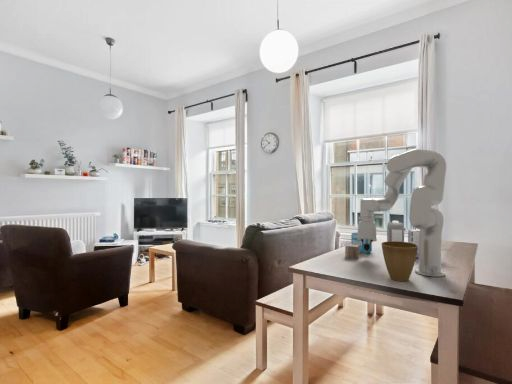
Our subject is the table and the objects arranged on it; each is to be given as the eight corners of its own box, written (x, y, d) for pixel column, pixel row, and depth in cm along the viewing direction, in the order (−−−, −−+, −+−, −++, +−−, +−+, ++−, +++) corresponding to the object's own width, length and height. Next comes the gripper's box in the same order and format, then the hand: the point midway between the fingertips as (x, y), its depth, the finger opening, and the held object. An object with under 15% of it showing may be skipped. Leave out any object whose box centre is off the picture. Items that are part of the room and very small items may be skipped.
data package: (351, 250, 196) (351, 232, 196) (354, 249, 199) (355, 231, 199) (368, 253, 187) (368, 234, 187) (371, 252, 190) (372, 234, 190)
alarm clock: (404, 255, 182) (404, 222, 182) (389, 254, 185) (389, 222, 185) (400, 249, 199) (400, 219, 199) (386, 248, 202) (386, 219, 202)
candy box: (431, 256, 179) (431, 229, 178) (436, 259, 173) (436, 231, 173) (407, 256, 180) (407, 229, 180) (411, 258, 174) (411, 230, 174)
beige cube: (358, 247, 173) (345, 246, 176) (357, 259, 173) (345, 257, 176) (359, 244, 180) (346, 243, 183) (359, 256, 180) (346, 255, 183)
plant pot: (383, 272, 146) (383, 240, 145) (418, 277, 138) (418, 243, 138) (378, 280, 133) (379, 245, 133) (416, 286, 125) (417, 248, 125)
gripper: (353, 219, 174) (352, 250, 174) (380, 220, 168) (380, 253, 168) (354, 218, 181) (354, 248, 181) (381, 219, 175) (380, 250, 175)
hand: (366, 250), depth 175 cm, fingers closed
